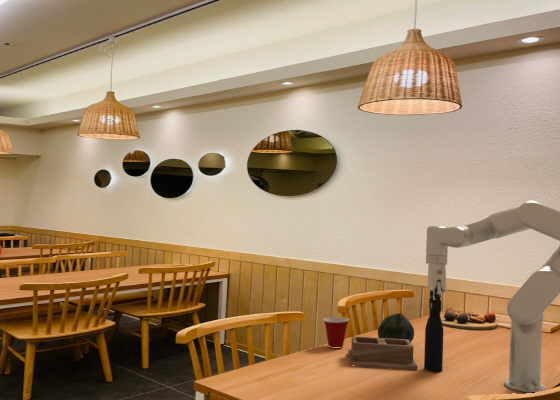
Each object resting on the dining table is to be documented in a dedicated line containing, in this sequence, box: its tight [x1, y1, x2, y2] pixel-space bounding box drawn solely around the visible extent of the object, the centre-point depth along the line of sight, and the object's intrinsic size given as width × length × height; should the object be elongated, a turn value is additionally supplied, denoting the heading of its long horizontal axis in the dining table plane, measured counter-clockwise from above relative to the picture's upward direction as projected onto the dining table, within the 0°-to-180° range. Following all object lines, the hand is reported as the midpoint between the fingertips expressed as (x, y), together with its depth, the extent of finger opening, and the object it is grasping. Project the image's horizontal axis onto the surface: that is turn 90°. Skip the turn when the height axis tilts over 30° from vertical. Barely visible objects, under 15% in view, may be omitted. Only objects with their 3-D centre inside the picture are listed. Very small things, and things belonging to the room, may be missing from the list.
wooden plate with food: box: [440, 307, 498, 331], centre depth 279 cm, size 32×32×8 cm
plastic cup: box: [322, 317, 350, 348], centre depth 219 cm, size 11×11×12 cm
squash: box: [377, 312, 415, 343], centre depth 226 cm, size 14×15×15 cm
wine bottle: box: [423, 289, 444, 373], centre depth 193 cm, size 6×6×30 cm
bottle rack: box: [347, 336, 418, 371], centre depth 201 cm, size 18×24×8 cm
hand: (435, 309), depth 193 cm, fingers open, 4 cm apart
